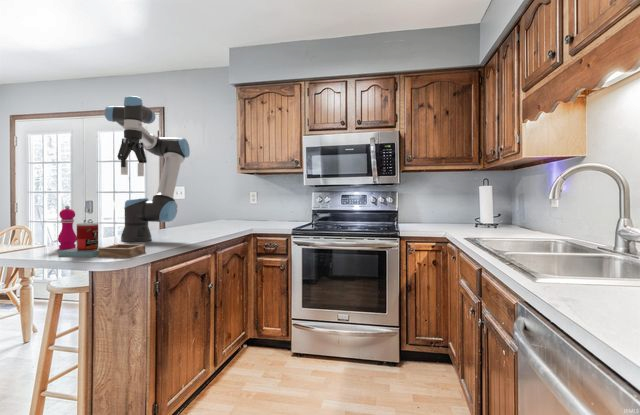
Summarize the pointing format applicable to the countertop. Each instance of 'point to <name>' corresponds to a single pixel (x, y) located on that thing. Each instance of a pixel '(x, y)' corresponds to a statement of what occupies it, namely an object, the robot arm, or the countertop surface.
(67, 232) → the pepper mill
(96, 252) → the plate
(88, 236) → the canned food
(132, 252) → the collar
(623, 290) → the countertop surface
